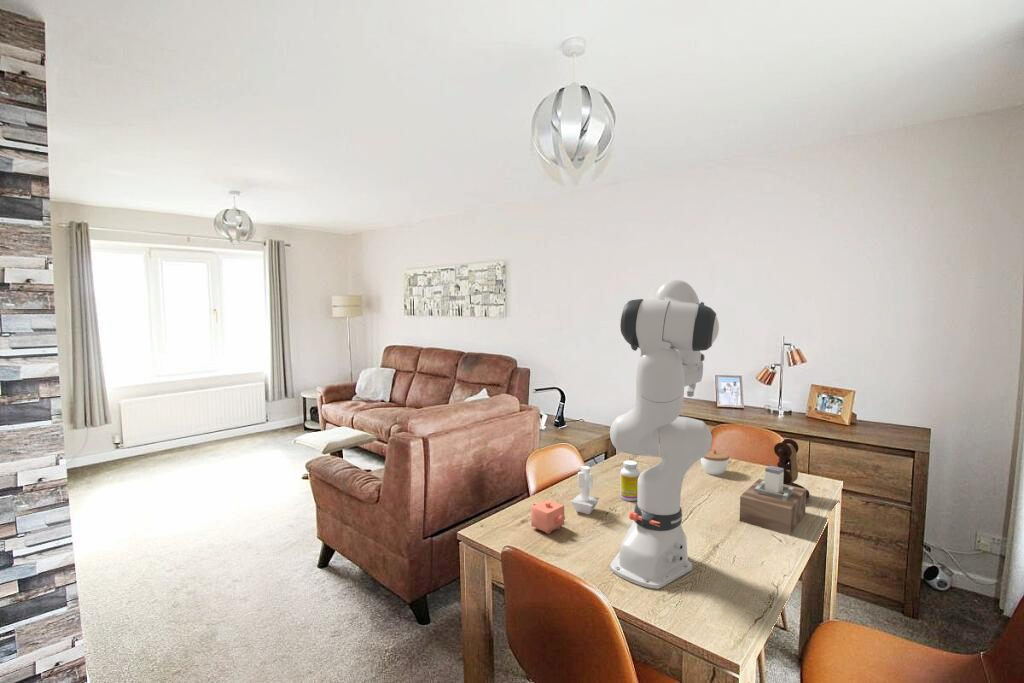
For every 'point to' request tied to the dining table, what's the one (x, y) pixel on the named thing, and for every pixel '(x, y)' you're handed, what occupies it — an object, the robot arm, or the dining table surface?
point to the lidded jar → (715, 462)
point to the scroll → (788, 455)
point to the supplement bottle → (629, 481)
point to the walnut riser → (773, 507)
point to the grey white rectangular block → (774, 479)
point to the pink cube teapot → (547, 516)
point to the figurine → (585, 492)
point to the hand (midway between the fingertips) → (684, 398)
